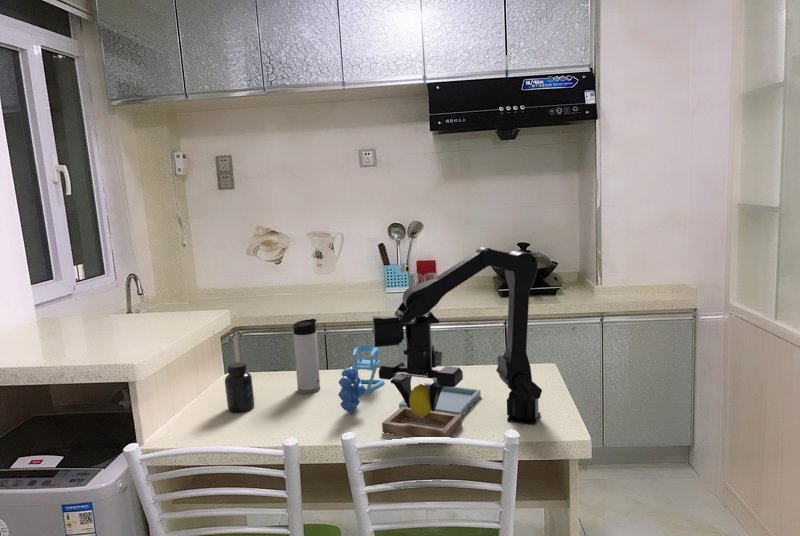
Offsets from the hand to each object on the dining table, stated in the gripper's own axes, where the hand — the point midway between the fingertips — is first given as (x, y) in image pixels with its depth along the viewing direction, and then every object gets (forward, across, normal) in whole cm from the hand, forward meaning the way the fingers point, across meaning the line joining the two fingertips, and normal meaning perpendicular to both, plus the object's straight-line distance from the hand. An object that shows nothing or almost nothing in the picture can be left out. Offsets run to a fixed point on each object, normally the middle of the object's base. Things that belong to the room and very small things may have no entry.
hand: (421, 409), depth 128 cm
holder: (+5, 0, 0) cm, 5 cm away
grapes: (+5, +20, -3) cm, 21 cm away
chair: (+5, +26, -20) cm, 33 cm away
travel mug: (+5, +41, -13) cm, 43 cm away
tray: (+5, +2, -16) cm, 17 cm away
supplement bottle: (+5, +50, +5) cm, 50 cm away
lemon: (+2, 0, 0) cm, 2 cm away
